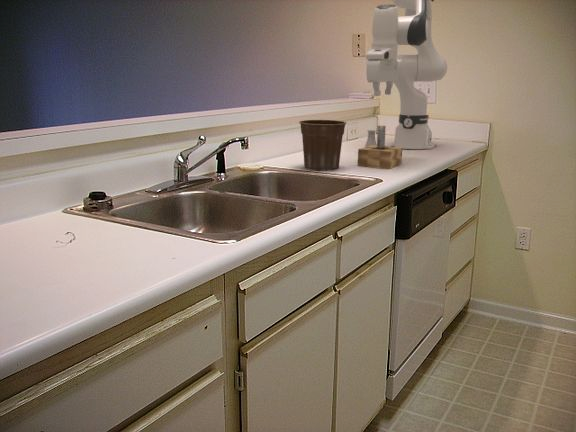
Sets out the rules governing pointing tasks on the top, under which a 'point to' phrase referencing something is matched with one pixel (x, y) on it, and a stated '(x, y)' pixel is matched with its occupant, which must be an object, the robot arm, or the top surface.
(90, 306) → the top surface
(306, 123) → the plant pot
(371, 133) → the flask
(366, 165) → the bead block
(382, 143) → the rod
